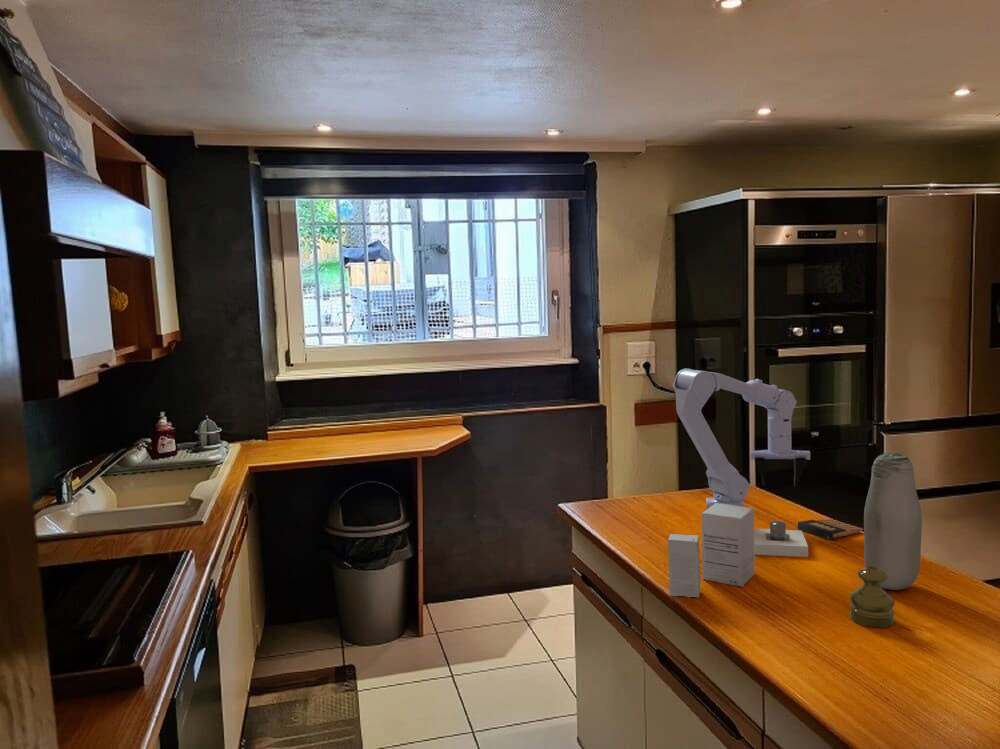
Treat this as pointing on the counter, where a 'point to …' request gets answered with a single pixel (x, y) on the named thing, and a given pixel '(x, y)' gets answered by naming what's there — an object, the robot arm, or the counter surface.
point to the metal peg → (777, 531)
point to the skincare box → (684, 565)
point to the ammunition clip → (828, 528)
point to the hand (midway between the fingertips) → (780, 486)
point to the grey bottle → (893, 521)
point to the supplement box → (728, 544)
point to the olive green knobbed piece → (872, 600)
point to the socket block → (780, 544)
